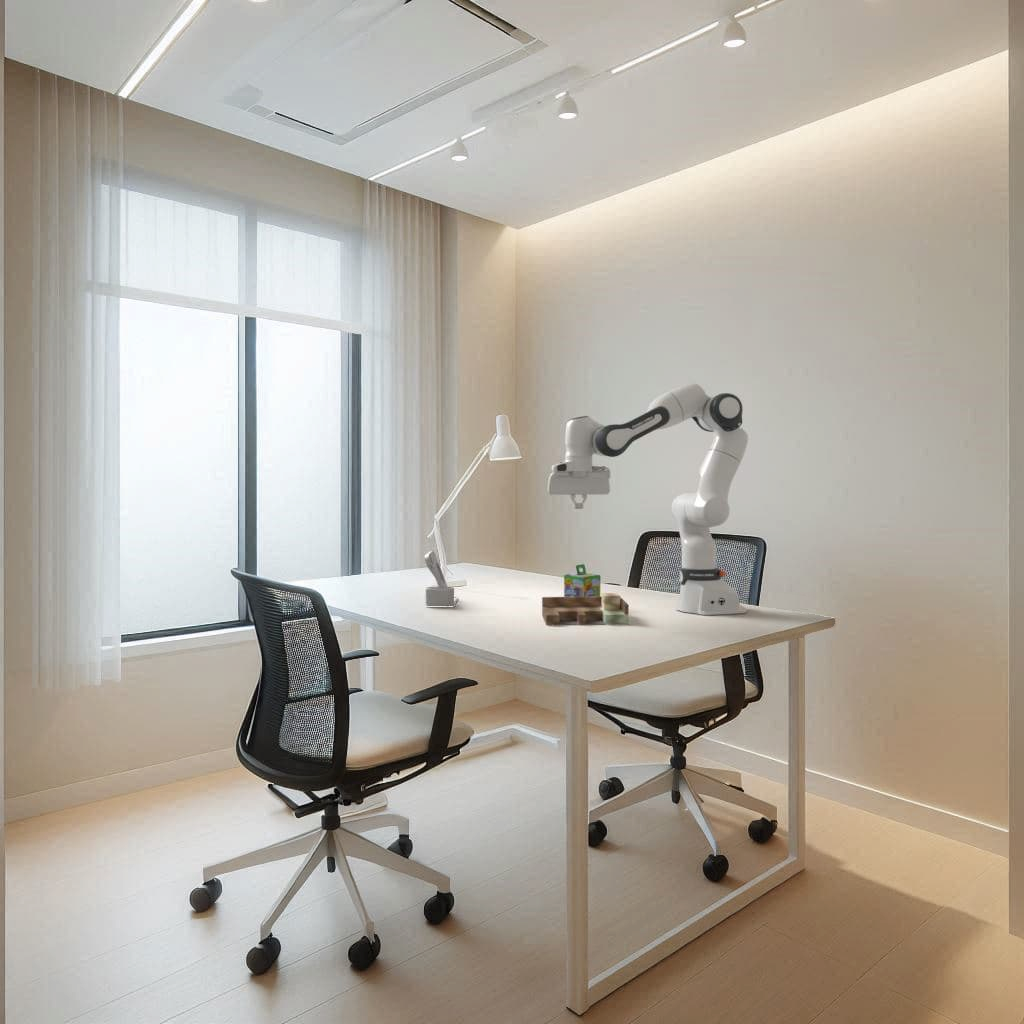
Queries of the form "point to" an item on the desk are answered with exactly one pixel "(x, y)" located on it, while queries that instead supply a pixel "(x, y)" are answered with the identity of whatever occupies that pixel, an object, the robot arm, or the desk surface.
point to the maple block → (610, 601)
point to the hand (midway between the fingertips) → (578, 508)
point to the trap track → (582, 611)
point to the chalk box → (581, 584)
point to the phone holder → (442, 592)
